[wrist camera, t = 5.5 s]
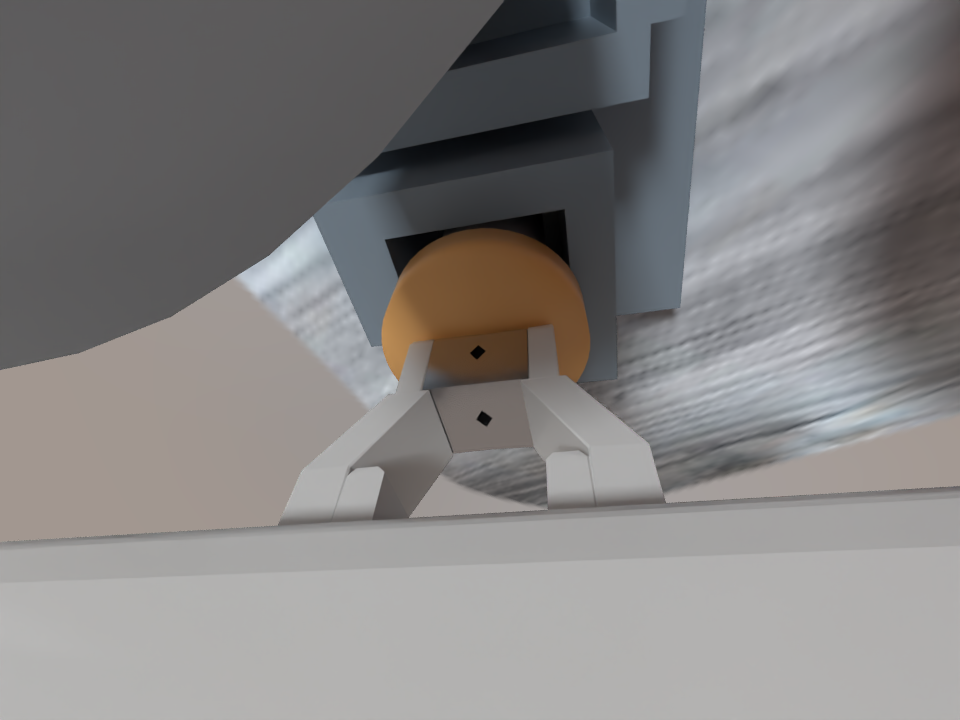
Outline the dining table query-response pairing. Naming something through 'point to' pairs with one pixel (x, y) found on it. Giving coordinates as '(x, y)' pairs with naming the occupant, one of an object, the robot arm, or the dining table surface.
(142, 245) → the cartridge
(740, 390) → the dining table surface
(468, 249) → the brown egg
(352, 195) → the grey double open block
